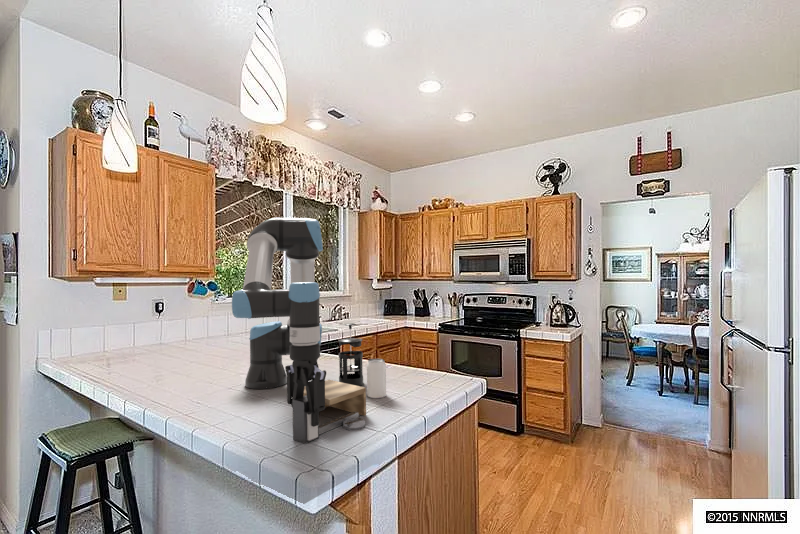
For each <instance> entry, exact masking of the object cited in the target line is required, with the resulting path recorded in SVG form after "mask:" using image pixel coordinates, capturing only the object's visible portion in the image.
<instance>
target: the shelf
mask: <svg viewBox="0 0 800 534" xmlns="http://www.w3.org/2000/svg"><path fill="white" fill-rule="evenodd" d="M366 394H367V387H364V386H362V387H360V386H356V385H351V384H347V383H342V382H339V380H338V381H336V380H333V379H325V408H328V407H332V408H335V409H339V410H341V411H342V410H343V411H345V412H350V413H352V412H354V411H355V412H358V414H359V416H363V417H364V416H366V415H367V395H366ZM305 395H307V393H306V386H305V387H304V394H303V396H305Z"/></svg>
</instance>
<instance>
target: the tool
mask: <svg viewBox="0 0 800 534" xmlns="http://www.w3.org/2000/svg"><path fill="white" fill-rule="evenodd" d="M307 412H309V406H308V399H307V395H305V396H302V397H299V398H296V399H293V408H292V440H294V441H296V442H298V443H301V444H307V443H310V442H312V441H314V440H316V439H319V438H320V436H319V435H321V434H324V433H327V432H329V431H331V430H333V429H335V428H339V427H340V426H343V421H344V420H346V419H348V418H360V415H359V414H358V412H355V411H354V412H350V413H348V414H344V415H342V416H340V417H338V418H335V419H333V420H329V421H326V422H324V423H321V424H320V423H319V424H318V437H317V438H314V439H312V440H310V441H309V440H307Z"/></svg>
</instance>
